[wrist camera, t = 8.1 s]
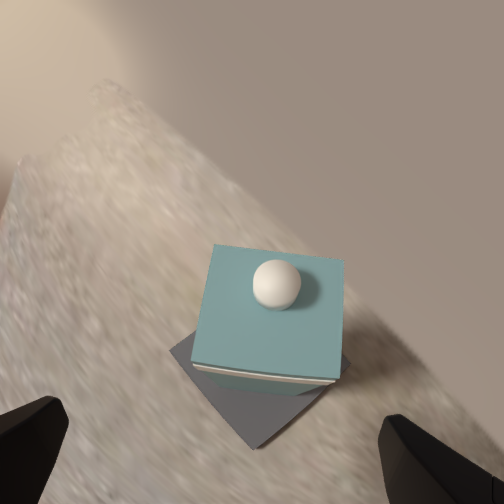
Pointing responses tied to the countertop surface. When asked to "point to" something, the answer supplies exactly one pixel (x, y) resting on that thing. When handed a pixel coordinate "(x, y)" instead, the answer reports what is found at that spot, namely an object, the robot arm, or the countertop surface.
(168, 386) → the countertop surface
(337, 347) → the carton
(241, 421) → the mat
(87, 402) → the countertop surface
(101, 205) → the countertop surface
